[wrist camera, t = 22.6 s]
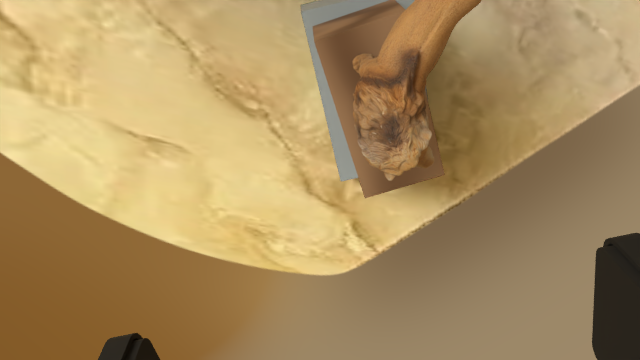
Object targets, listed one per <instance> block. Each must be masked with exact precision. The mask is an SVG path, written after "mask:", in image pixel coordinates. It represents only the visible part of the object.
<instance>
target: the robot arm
mask: <svg viewBox="0 0 640 360" xmlns="http://www.w3.org/2000/svg"><path fill="white" fill-rule="evenodd" d="M592 336H593V337H592V345H593V350H594V353H595V355H596V358H597V360H640V234H639V233H633V234H628V235H623V236H618V237H613V238H608V239H606V240H605V242H604V246H603V247H601V248H598V249H597V251H596V267H595V290H594V311H593V335H592ZM98 360H160V358H159V357H158V355H157V353H156V351H155V349H154V347H153V345H152V343H151V342H150V340H149V339H147V338H144V339H143V338H142V337H141V336H140V335H139V334H138V333H133V334H128V335H123V336H118V337H113V338H110V339H109V340H107V342H106V343H105V345H104V347H103V350H102V352H101V354H100V356H99V358H98Z"/></svg>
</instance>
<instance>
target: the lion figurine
mask: <svg viewBox="0 0 640 360" xmlns="http://www.w3.org/2000/svg"><path fill="white" fill-rule="evenodd" d="M480 2H481V0H415V1H414V2H413V3H412V4H411V5H410V6H409V7H408V8H407V9H406V10H405V11H404V12H403V13H402V14H401V15H400V16H399V18H398V19H397V21H396V22H395V24H394V25H393V27H392V29H391V31H390V32H389V34H388V36H387V38H386V39H385V41H384V43H383V45H382V48H381V50H380V52H379V56H378V57H375V58H374V57H373V55H372V54H360V55H358V56H356V57H355V58H354V59H353V62H352V63H353V68H354V69H355V70H356V72H357V73H359V74H360V76H361V78H360V79H359V81H358V83H357V85H356V88H355V92H354V93H353V101H354V102H353V109H354V110H353V116H354V123H355V125H354V126H355V130H356V131H357V133H358V144H359V146H360V148H361V149H362V154H363V155H364V156H365V158H366V160H367V161H368V162H369V164H370V165H371V166H373V167H376V168H378V169H380V170H381V171H383V172H384V174H385V177H386V178H387V180H389V181H390V180H393V178H394V177H395V176H396V175H398V176H399V175H402V174H403V172H404V171H408V170H410V169H412V168H414V167H420V168H428V167H430V166H431V165H432V164H433V163H434V156H433V154H432V150H431V148H430V147H429V146H428V143H429V140H430V139H431V136H432V133H431V131H430V130H429V128H428V127H429V121H428V115H427V113H426V111H425V110H426V102H425V97H424V91H425V86H426V78H427V76H428V75H429V73H430V72H431V70H432V69H433V67H434V66H435V65H436V63H437V61H438V59H439V58H440V56H441V54H442V52H443V50H444V48H445V46H446V43H447V41H448V39H449V36H450V34H451V32H452V30H453V28H454V27H455V25H456V24H457V23H458V21H459V20H460V19H461V18H462V17H464V16H465V15H466V14H467V13H468V12H470V11H471V10H472V9H473V8H474V7H476V6H477V5H478V4H479V3H480Z"/></svg>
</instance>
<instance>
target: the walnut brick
mask: <svg viewBox="0 0 640 360" xmlns="http://www.w3.org/2000/svg"><path fill="white" fill-rule="evenodd" d="M404 11H405V9H404V8H403V7H402V6H401V5H400V4H399V3H398V2H396V1H395V0H388V1H385V2H382V3H379V4H376V5H374V6H371V7H368V8H365V9H362V10H359V11H356V12H353V13H350V14H347V15H344V16H341V17H338V18H335V19H332V20H329V21H326V22H323V23H321V24H318V25H315V26H312V27H313V36H314V43H315V46H316V49H317V52H318V55H319V58H320V61H321V64H322V67H323V70H324V73H325V76H326V80H327V83H328V86H329V89H330V92H331V95H332V98H333V101H334V104H335V107H336V110H337V113H338V117H339V120H340V123H341V126H342V129H343V132H344V135H345V138H346V141H347V144H348V147H349V150H350V153H351V157H352V160H353V163H354V166H355V169H356V172H357V175H358V178H359V181H360V184H361V187H362V190H363V193H364V197H365V198H367V197H371V196H374V195H378V194H381V193H384V192H388V191H391V190H395V189H398V188H401V187H405V186H408V185H411V184H415V183H418V182H422V181H425V180H428V179H432V178H435V177H439V176H442V175H445V174H444V170H443V165H442V161H441V157H440V152H439V148H438V144H437V139H436V135H435V131H434V126H433V122H432V118H431V113H430V109H429V105H428V100H427V96H426V92H425V91H424V97H425V102H426V110H425V111H426V113H427V115H428V121H429V127H428V128H429V130H430V131H431V133H432V136H431V139H430V140H429V143H428V146H429V147H430V148H431V150H432V154H433V156H434V163H433V164H432V165H431V166H430V167H428V168H420V167H414V168H412V169H410V170H408V171H404V172H403V174H402V175H399V176H398V175H396V176H395V177H394V178H393V180H390V181H389V180H387V178H386V177H385V174H384V172H383V171H381V170H380V169H378V168H376V167H373V166H371V165H370V164H369V162H368V161H367V160H366V158H365V156H364V155H363V154H362V149H361V148H360V146H359V144H358V133H357V131H356V130H355V126H354V125H355V123H354V116H353V110H354V109H353V102H354V101H353V93H354V92H355V88H356V85H357V83H358V81H359V79H360V78H361V76H360V74H359V73H357V72H356V70H355V69H354V68H353V63H352V62H353V59H354V58H355V57H356V56H358V55H360V54H372V55H373V57H374V58H375V57H378V56H379V52H380V50H381V48H382V45H383V43H384V41H385V39H386V38H387V36H388V34H389V32H390V31H391V29H392V27H393V25H394V24H395V22H396V21H397V19H398V18H399V16H400V15H401V14H402V13H403V12H404Z"/></svg>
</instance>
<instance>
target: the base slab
mask: <svg viewBox="0 0 640 360" xmlns="http://www.w3.org/2000/svg"><path fill="white" fill-rule="evenodd" d="M385 1H388V0H319V1H315V2H311V3H307V4H303V5H301V14H302V18H303V22H304V26H305V31H306V35H307V39H308V43H309V48H310V52H311V56H312V60H313V65H314V69H315V73H316V78H317V82H318V86H319V90H320V95H321V99H322V103H323V107H324V112H325V116H326V120H327V124H328V129H329V133H330V137H331V142H332V146H333V150H334V154H335V159H336V163H337V167H338V171H339V176H340V180H341V181H345V180H350V179H354V178H358V175H357V172H356V169H355V166H354V163H353V160H352V157H351V153H350V150H349V147H348V144H347V141H346V138H345V135H344V132H343V129H342V126H341V123H340V120H339V117H338V113H337V110H336V107H335V104H334V101H333V98H332V95H331V92H330V89H329V86H328V83H327V80H326V76H325V73H324V70H323V67H322V64H321V61H320V58H319V55H318V52H317V49H316V46H315V43H314V36H313V27H312V26H315V25H318V24H321V23H323V22H326V21H329V20H332V19H335V18H338V17H341V16H344V15H347V14H350V13H353V12H356V11H359V10H362V9H365V8H368V7H371V6H374V5H376V4H379V3H382V2H385ZM395 1H396V2H398V3H399V4H400V5H401V6H402V7H403V8H404V9H405V10H406V9H407V8H408V7H409V6H410V5H411V4H412V3H413V2H414V1H415V0H395ZM425 92H426V96H427V90H426V86H425ZM427 100H428V98H427Z"/></svg>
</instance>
